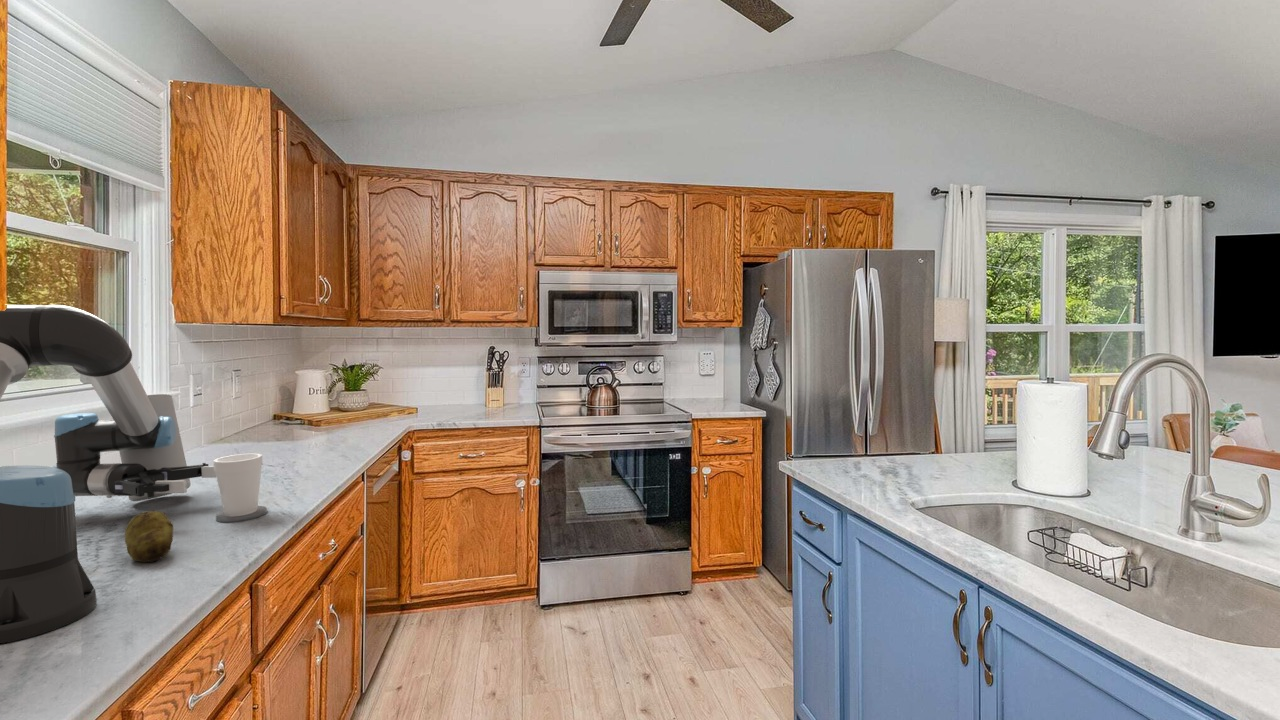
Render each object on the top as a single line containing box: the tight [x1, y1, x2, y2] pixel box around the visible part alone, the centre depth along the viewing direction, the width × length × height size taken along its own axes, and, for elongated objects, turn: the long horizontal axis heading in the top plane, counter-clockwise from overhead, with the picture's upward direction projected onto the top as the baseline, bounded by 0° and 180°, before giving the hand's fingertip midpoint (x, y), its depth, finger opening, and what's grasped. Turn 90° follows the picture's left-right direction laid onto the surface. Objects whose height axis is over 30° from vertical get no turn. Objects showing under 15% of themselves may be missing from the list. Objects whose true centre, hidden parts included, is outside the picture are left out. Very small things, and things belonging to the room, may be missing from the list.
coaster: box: [215, 505, 268, 523], centre depth 140 cm, size 10×10×1 cm
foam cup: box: [212, 452, 264, 516], centre depth 140 cm, size 10×9×13 cm
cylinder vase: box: [112, 393, 192, 502], centre depth 153 cm, size 12×12×25 cm
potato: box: [124, 510, 174, 563], centre depth 115 cm, size 8×13×8 cm, turn 28°
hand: (208, 478), depth 140 cm, fingers open, 13 cm apart
